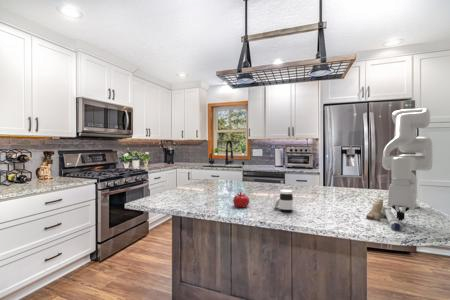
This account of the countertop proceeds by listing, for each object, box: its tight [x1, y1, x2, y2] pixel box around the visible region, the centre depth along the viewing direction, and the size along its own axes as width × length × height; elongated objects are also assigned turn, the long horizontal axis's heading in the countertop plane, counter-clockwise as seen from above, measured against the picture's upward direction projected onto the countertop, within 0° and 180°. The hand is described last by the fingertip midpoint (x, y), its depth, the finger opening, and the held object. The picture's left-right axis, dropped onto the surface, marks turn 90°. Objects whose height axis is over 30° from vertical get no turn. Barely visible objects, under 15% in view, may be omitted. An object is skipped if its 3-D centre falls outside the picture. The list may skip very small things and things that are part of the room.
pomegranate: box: [232, 191, 250, 208], centre depth 150 cm, size 10×10×9 cm
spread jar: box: [273, 189, 294, 213], centre depth 141 cm, size 12×11×12 cm
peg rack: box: [365, 198, 384, 221], centre depth 128 cm, size 16×6×8 cm, turn 140°
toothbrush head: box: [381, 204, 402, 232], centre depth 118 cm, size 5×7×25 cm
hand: (400, 220), depth 116 cm, fingers closed
